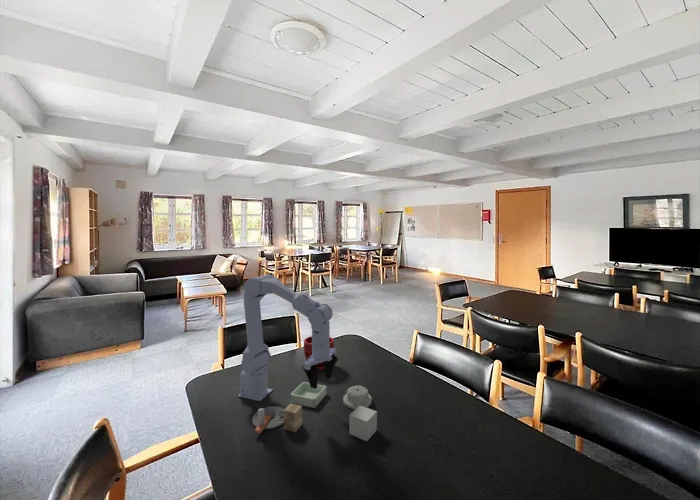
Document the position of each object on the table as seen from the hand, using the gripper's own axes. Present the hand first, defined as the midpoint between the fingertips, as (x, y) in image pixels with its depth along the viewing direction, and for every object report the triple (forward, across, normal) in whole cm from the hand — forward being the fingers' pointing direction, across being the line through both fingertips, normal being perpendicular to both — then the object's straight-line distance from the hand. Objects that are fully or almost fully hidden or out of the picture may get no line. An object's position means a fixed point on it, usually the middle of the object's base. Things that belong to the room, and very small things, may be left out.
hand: (321, 382), depth 105 cm
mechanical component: (+11, +12, -7) cm, 17 cm away
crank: (+9, -15, +10) cm, 20 cm away
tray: (+10, +4, +9) cm, 14 cm away
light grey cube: (+10, -1, -17) cm, 20 cm away
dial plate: (+10, -12, +12) cm, 19 cm away
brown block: (+10, -11, +2) cm, 15 cm away
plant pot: (+10, +27, +22) cm, 36 cm away
